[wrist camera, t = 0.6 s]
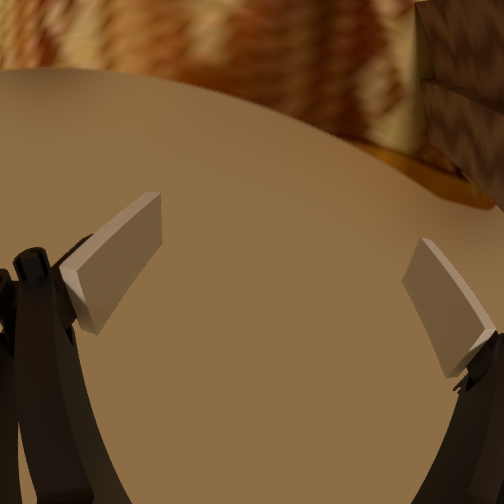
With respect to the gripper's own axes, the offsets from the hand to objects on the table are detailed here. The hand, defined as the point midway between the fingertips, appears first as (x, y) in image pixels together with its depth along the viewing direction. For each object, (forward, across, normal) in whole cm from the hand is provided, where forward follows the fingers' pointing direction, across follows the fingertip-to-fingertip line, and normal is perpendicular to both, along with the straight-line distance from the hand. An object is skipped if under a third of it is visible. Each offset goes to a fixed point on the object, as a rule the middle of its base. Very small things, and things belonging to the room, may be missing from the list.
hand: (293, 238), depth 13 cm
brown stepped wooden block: (+24, +26, +21) cm, 41 cm away
